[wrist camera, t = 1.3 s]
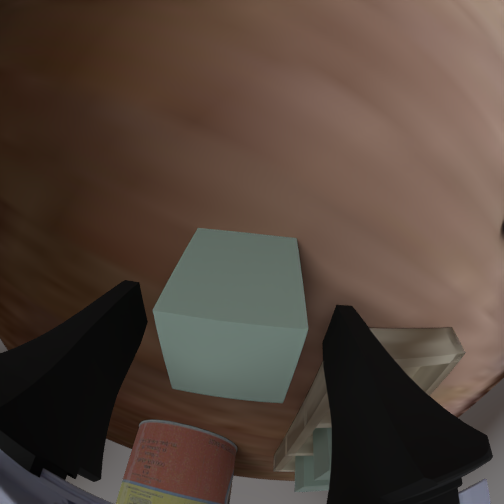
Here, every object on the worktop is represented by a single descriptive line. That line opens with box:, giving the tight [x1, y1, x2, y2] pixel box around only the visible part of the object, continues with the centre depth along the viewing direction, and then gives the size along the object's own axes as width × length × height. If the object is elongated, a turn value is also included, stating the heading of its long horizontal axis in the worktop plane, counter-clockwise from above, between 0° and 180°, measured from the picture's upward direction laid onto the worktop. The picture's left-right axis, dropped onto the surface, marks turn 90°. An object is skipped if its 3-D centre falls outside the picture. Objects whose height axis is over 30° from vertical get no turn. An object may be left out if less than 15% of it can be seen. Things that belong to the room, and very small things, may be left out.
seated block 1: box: [295, 456, 330, 492], centre depth 20 cm, size 4×4×5 cm
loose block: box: [153, 228, 308, 403], centre depth 10 cm, size 4×4×5 cm
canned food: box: [116, 420, 237, 504], centre depth 19 cm, size 11×11×12 cm
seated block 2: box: [313, 428, 332, 480], centre depth 16 cm, size 4×4×5 cm
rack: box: [273, 327, 465, 472], centre depth 18 cm, size 8×23×2 cm, turn 175°
